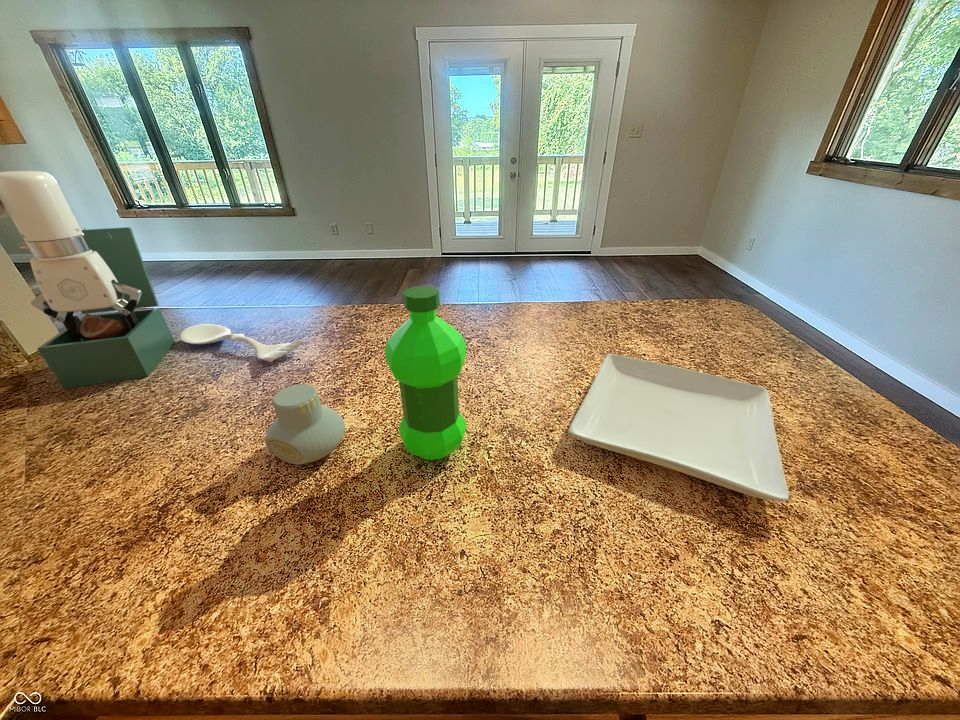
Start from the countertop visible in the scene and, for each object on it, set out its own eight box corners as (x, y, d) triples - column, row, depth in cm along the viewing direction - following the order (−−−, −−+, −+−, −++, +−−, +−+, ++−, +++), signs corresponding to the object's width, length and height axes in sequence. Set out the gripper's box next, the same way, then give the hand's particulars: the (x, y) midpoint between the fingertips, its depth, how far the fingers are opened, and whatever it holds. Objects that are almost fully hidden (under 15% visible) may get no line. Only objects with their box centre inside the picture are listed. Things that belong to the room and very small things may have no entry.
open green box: (148, 376, 76) (127, 337, 72) (64, 389, 72) (36, 348, 68) (175, 342, 89) (159, 307, 84) (104, 351, 85) (84, 315, 81)
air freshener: (357, 439, 60) (345, 387, 55) (320, 477, 53) (302, 421, 48) (303, 423, 63) (288, 372, 58) (262, 456, 57) (240, 402, 52)
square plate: (604, 366, 78) (607, 350, 76) (761, 404, 67) (769, 385, 65) (564, 448, 58) (566, 428, 56) (780, 521, 47) (793, 500, 45)
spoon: (275, 372, 77) (270, 357, 75) (174, 344, 88) (167, 330, 86) (308, 352, 84) (304, 338, 83) (211, 328, 95) (206, 316, 94)
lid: (128, 227, 78) (130, 227, 79) (45, 232, 74) (48, 231, 75) (157, 306, 84) (159, 305, 85) (81, 314, 80) (84, 313, 81)
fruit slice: (142, 335, 79) (131, 313, 77) (106, 349, 74) (93, 326, 71) (115, 329, 82) (103, 307, 79) (78, 343, 76) (64, 320, 74)
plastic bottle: (424, 419, 64) (410, 274, 51) (480, 438, 60) (479, 286, 47) (386, 457, 56) (358, 298, 44) (446, 482, 52) (434, 314, 40)
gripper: (-18, 257, 63) (43, 349, 72) (108, 248, 68) (151, 335, 76) (13, 246, 69) (66, 332, 78) (127, 239, 74) (165, 321, 83)
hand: (108, 333), depth 77 cm, fingers closed on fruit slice, 8 cm apart
